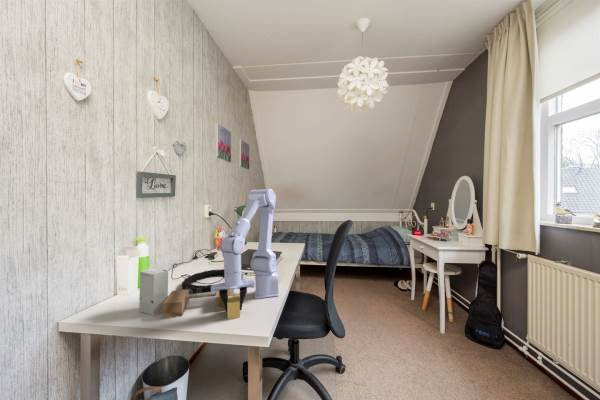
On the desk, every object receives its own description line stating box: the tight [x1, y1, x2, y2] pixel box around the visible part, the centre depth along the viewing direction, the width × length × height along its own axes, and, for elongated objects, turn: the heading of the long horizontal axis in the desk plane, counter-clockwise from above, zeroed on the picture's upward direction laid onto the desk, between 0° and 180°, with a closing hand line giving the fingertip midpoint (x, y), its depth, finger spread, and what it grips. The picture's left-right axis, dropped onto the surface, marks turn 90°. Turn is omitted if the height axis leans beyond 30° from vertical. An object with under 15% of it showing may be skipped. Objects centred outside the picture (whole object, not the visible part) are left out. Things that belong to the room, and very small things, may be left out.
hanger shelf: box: [162, 289, 235, 319], centre depth 89 cm, size 23×12×5 cm, turn 104°
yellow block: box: [226, 294, 241, 320], centre depth 82 cm, size 4×6×5 cm, turn 14°
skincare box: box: [138, 267, 169, 316], centre depth 87 cm, size 8×6×15 cm
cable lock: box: [181, 268, 244, 294], centre depth 112 cm, size 28×4×30 cm
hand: (234, 309), depth 82 cm, fingers closed on yellow block, 4 cm apart
